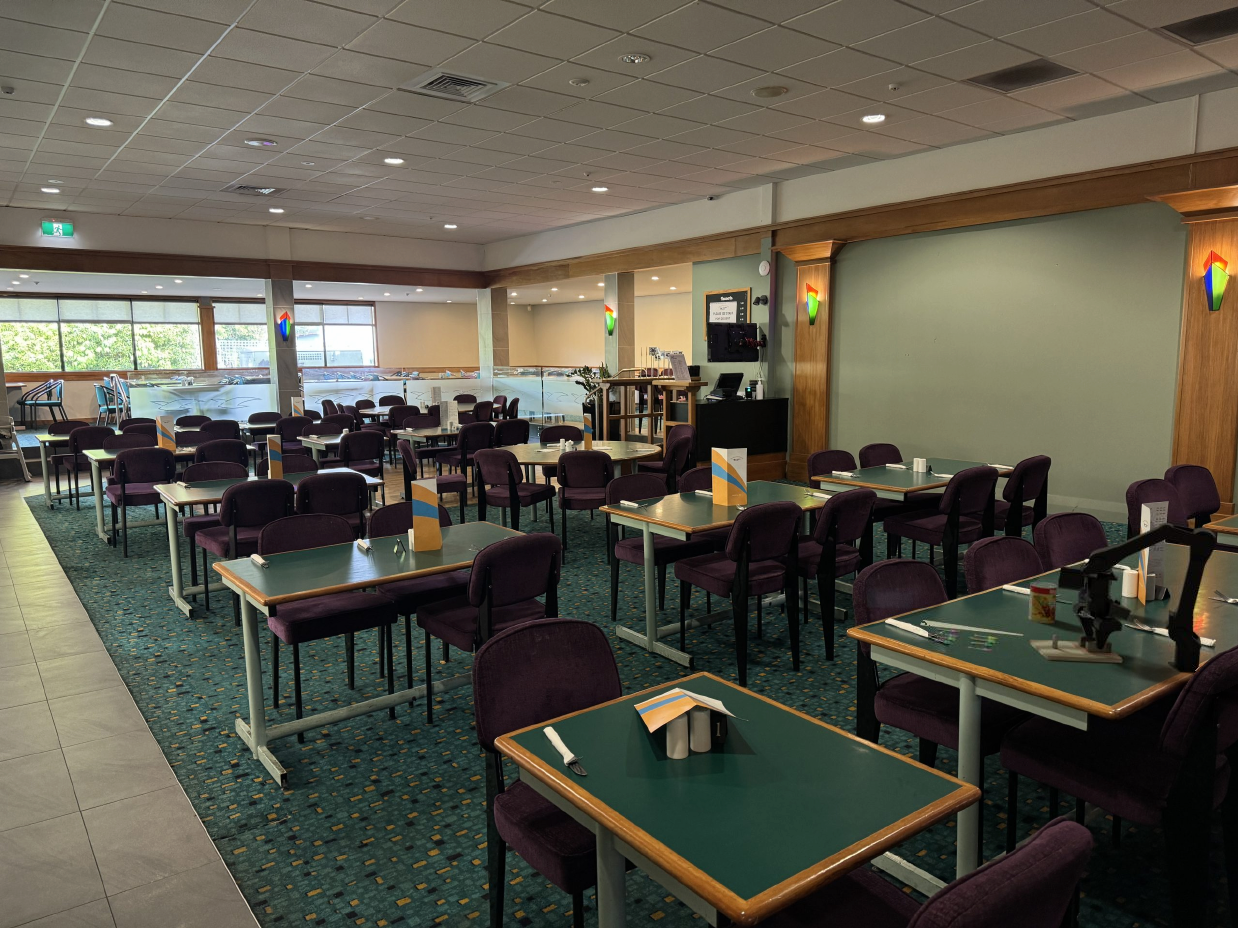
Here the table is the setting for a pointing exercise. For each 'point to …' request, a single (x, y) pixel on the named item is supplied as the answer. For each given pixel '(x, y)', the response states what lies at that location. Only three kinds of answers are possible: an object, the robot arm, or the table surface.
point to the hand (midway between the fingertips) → (1095, 644)
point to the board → (1070, 651)
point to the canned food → (1042, 602)
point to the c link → (1093, 645)
